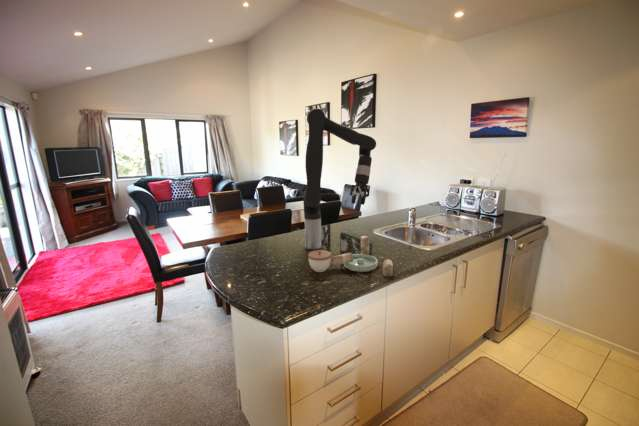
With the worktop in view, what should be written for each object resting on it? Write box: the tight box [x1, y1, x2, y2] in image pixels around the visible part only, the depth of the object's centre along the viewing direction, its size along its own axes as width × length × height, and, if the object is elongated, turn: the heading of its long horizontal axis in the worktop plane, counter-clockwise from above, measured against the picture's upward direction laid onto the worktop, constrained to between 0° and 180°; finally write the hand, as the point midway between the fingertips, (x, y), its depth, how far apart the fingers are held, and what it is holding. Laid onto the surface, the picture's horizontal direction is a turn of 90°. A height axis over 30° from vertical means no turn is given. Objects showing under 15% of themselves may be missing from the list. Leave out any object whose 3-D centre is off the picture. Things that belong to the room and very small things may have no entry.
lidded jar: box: [307, 249, 332, 273], centre depth 142 cm, size 11×11×9 cm
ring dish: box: [343, 253, 379, 273], centre depth 147 cm, size 16×16×3 cm
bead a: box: [360, 235, 370, 255], centre depth 158 cm, size 4×4×10 cm
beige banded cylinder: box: [330, 252, 353, 267], centre depth 143 cm, size 4×4×10 cm
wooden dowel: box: [382, 259, 394, 278], centre depth 138 cm, size 4×4×10 cm
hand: (357, 204), depth 165 cm, fingers open, 8 cm apart
